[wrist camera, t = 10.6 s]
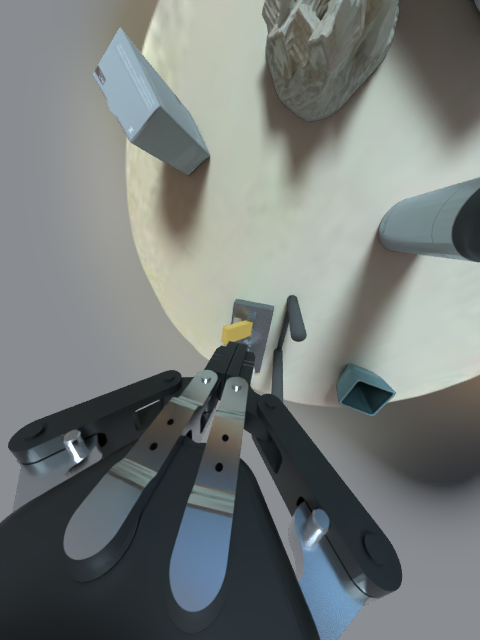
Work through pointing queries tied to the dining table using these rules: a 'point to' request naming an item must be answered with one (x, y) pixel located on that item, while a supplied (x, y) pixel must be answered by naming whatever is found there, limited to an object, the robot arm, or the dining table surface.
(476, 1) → the control panel
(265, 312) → the strip
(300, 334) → the cable posts
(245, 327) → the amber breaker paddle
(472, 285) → the dining table surface
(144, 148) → the skincare box
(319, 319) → the dining table surface
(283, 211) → the dining table surface
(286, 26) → the jagged rock sculpture
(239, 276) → the dining table surface
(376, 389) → the flower pot
